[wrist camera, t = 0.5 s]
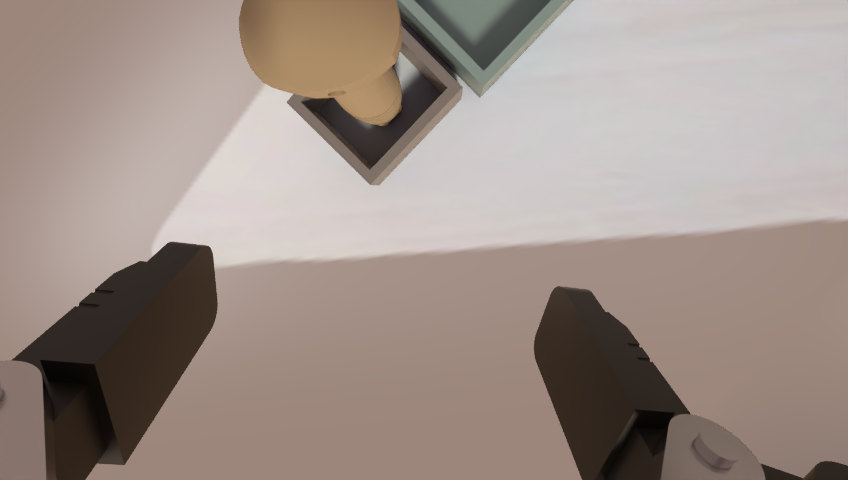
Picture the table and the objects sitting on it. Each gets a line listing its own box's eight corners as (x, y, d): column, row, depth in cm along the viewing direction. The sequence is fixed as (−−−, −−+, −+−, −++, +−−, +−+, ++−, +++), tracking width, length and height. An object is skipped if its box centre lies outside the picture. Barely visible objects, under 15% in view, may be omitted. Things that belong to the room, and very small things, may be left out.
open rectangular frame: (384, 21, 30) (376, -1, 26) (460, 99, 30) (462, 87, 27) (304, 112, 31) (286, 102, 28) (378, 185, 31) (370, 184, 28)
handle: (334, 82, 31) (227, -20, 16) (417, 64, 30) (386, -59, 15) (347, 145, 31) (254, 104, 16) (428, 129, 31) (409, 72, 16)
